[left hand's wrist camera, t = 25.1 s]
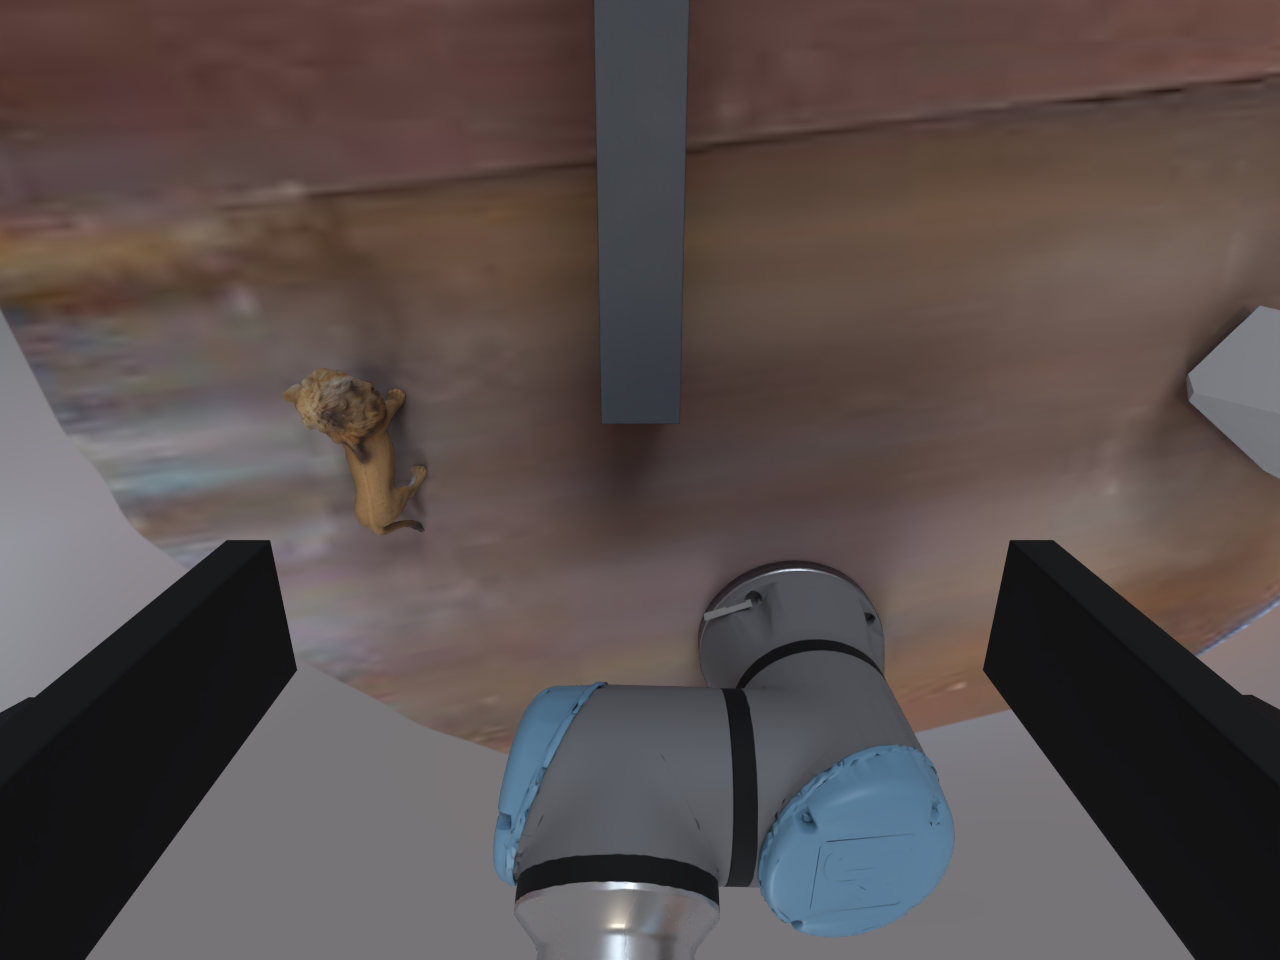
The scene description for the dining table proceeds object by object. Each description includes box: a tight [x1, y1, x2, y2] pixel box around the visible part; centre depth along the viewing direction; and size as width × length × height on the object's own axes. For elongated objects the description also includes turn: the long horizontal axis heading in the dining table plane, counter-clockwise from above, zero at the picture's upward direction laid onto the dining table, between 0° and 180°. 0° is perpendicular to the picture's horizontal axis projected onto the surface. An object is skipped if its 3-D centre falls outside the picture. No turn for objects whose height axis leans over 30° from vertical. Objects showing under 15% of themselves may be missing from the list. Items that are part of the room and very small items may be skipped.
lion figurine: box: [284, 368, 427, 535], centre depth 50 cm, size 15×5×9 cm, turn 15°
